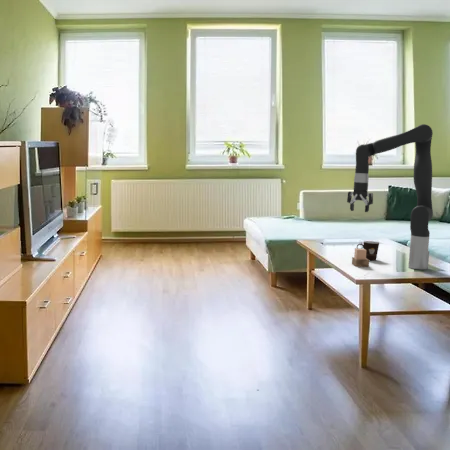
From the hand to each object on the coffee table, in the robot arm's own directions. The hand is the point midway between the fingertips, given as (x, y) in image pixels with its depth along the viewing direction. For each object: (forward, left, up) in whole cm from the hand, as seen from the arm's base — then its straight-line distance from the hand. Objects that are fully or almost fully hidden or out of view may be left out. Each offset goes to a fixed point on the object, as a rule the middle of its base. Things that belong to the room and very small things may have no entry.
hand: (359, 211), depth 303 cm
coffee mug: (-9, -11, -28) cm, 31 cm away
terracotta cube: (0, +11, -24) cm, 27 cm away
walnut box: (0, +11, -28) cm, 30 cm away
